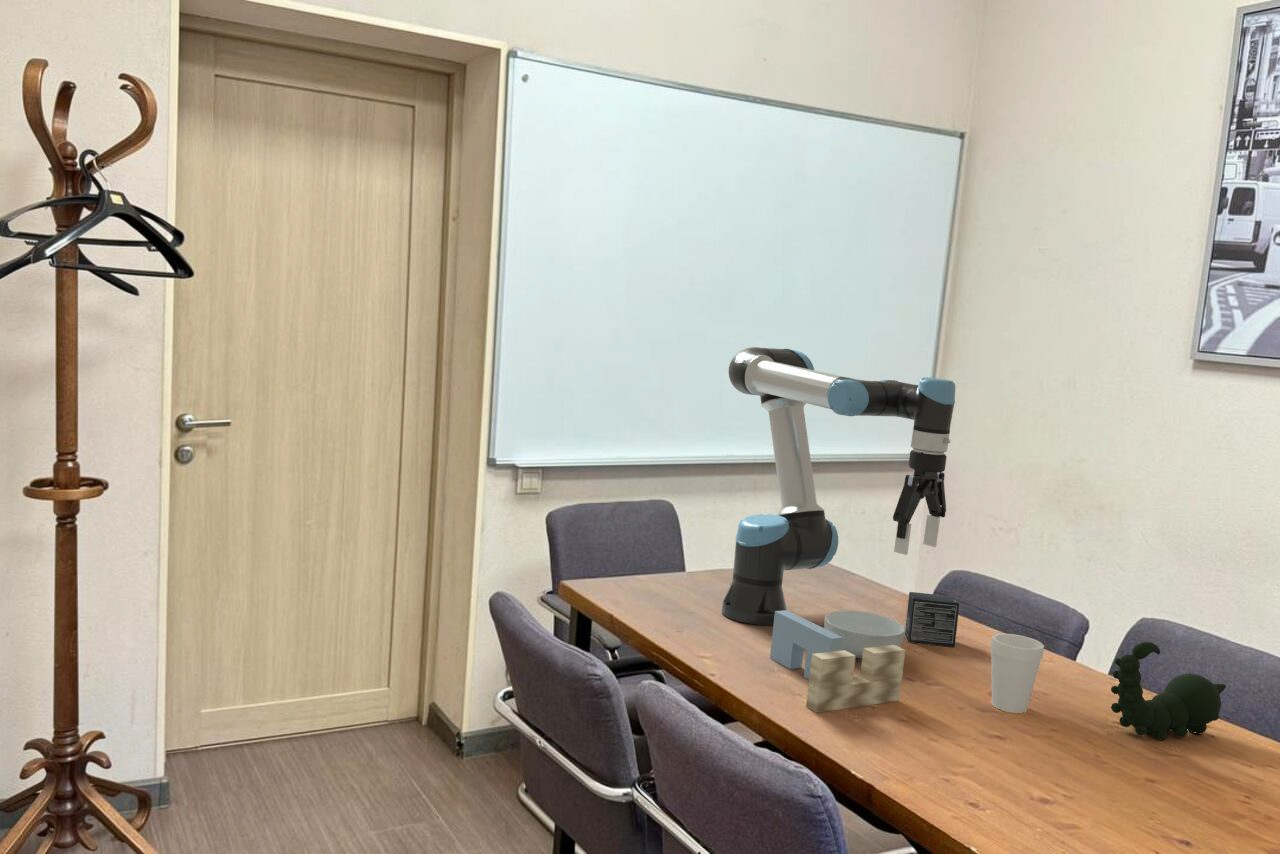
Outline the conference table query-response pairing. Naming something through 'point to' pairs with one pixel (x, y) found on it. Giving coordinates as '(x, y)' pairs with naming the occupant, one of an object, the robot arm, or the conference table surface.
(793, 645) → the blue-grey arch block
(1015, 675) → the foam cup
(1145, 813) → the conference table surface
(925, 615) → the small box
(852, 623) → the cereal bowl
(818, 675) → the notched birch block
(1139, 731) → the toy figurine
